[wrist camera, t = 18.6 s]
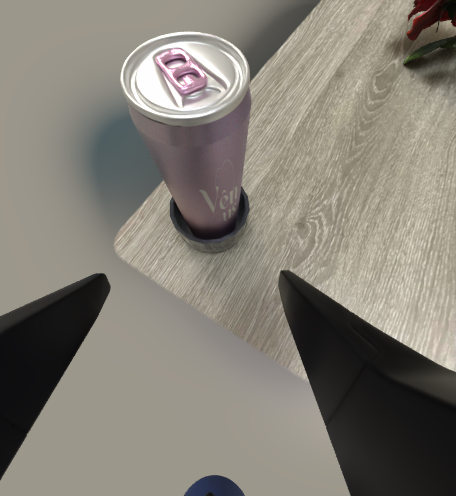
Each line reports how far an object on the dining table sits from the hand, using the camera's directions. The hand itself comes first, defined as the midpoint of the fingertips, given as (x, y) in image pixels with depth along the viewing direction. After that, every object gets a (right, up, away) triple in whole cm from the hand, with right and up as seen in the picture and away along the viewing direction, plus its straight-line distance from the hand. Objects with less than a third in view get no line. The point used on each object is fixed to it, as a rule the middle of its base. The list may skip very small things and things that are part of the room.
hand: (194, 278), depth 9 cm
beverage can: (0, +5, +13) cm, 14 cm away
